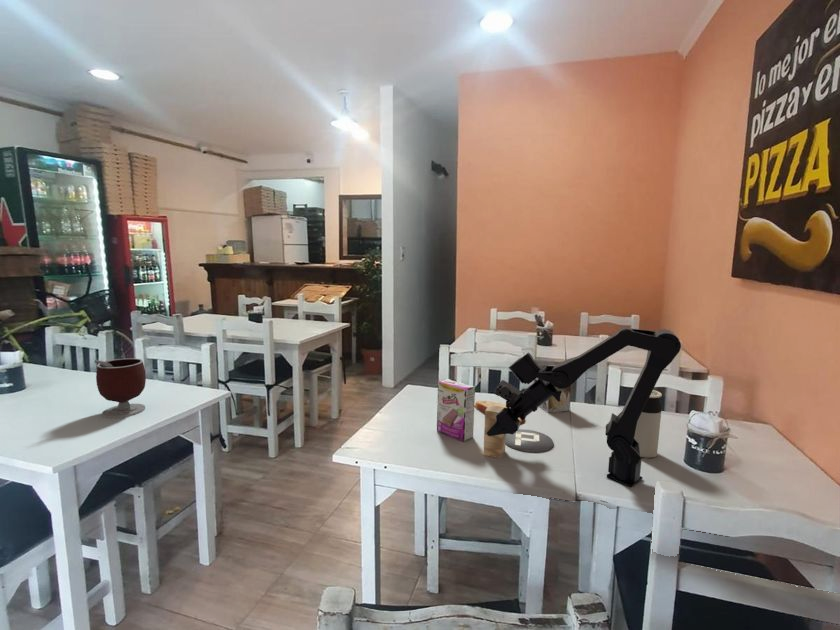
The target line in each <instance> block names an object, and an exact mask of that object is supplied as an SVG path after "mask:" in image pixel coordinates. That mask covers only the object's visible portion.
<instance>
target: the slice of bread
mask: <svg viewBox="0 0 840 630" xmlns="http://www.w3.org/2000/svg"><path fill="white" fill-rule="evenodd" d="M489 405H494V406H501V407H506V403H501V402H496V401H488V400H476V402H475V403H474V409H475V410H479V412H481V413H482V414H483V415H485V410H486V409H487V408H488V406H489ZM518 419H519V421H520V426H521V425H523V424H525V422H526V421H525V419H526V418H525V419H524V420H523V421H522V420H521V419H520V418H518Z"/></svg>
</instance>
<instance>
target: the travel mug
mask: <svg viewBox="0 0 840 630" xmlns="http://www.w3.org/2000/svg"><path fill="white" fill-rule="evenodd" d="M661 397H663V394H662V393H661V392H660V391H658V390H655V389H653V391H652V393H651V395H650V397H649V399H648V401H647V403H646V405H645V407H644V409H643V411H642V413H641V415H640V417H639V419H638V421H637V426H636V431H635V436H634V439H635V440H636V441H637V442H638V443H639V448H640V456H641V458H643V459H644V458H646V459H651V458H655V457H657V456H658V448H659V440H660V439H659V438H660V428H661V427H660V426H661V419H662V411H663V410H662V408H663V405H662V403H661Z"/></svg>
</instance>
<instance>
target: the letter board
mask: <svg viewBox="0 0 840 630" xmlns="http://www.w3.org/2000/svg"><path fill="white" fill-rule="evenodd" d="M505 446H508V447H509V448H511V449H514V450H517V451H520V452H525V453H526V452H527V453H542V452H547V451H549V450H551V449H552V448H553V447H554V440H553V439H552V438H551V437H550V436H549V435H547V434H545V433H542V432H540V431H536V430H532V429H522V428H521V429H520V428H519V429H518V431H517V432H515V433H514V434H513V435H512V434H506V440H505Z"/></svg>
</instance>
